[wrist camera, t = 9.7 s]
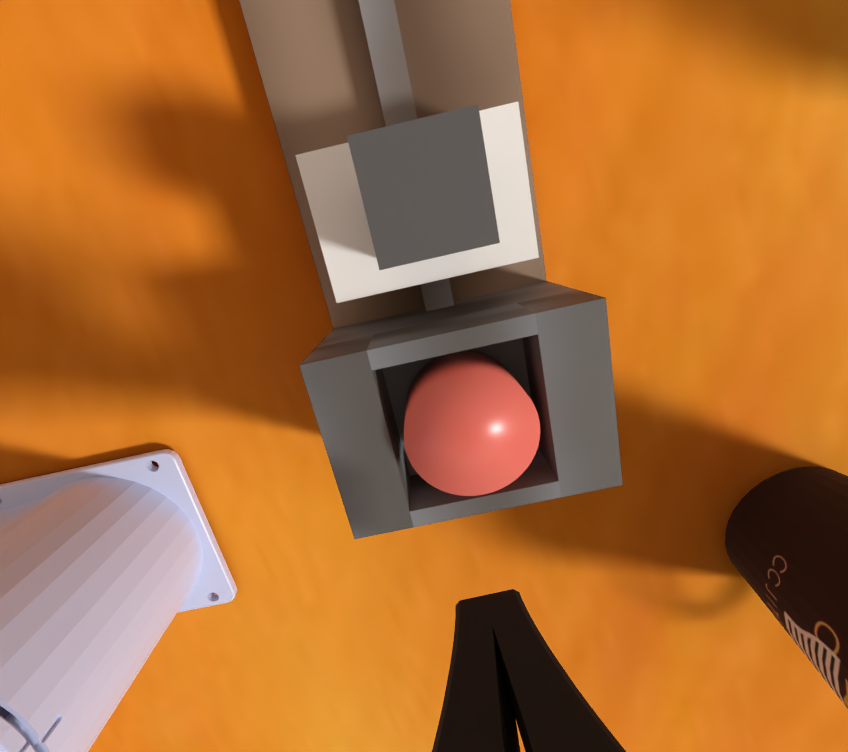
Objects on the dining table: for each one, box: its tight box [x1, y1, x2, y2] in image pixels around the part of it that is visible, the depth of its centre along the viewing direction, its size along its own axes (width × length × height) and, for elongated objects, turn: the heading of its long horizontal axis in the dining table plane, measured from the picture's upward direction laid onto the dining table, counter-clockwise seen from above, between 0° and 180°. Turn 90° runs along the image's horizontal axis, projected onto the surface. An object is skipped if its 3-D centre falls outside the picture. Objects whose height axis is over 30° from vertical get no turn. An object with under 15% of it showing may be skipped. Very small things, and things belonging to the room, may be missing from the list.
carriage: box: [295, 102, 539, 303], centre depth 11 cm, size 6×4×6 cm, turn 102°
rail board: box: [239, 0, 623, 539], centre depth 12 cm, size 8×20×6 cm, turn 12°
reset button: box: [404, 352, 540, 496], centre depth 12 cm, size 4×4×2 cm
